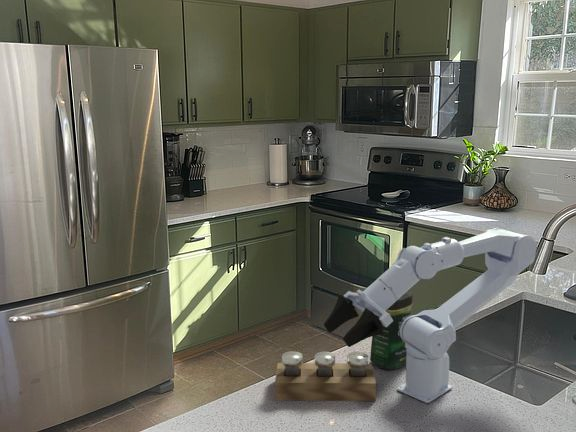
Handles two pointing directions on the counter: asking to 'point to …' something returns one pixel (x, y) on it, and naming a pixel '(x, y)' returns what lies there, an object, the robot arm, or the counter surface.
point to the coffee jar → (392, 336)
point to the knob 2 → (357, 363)
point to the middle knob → (324, 363)
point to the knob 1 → (292, 363)
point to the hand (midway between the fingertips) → (335, 335)
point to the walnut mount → (325, 384)
